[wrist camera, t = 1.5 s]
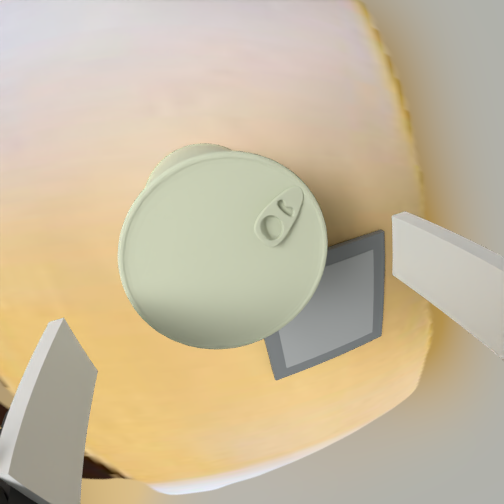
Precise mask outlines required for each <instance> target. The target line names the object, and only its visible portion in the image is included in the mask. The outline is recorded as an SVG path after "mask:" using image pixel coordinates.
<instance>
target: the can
mask: <svg viewBox="0 0 504 504" xmlns="http://www.w3.org/2000/svg"><path fill="white" fill-rule="evenodd" d="M327 249H328V240H327V230H326V224H325V220H324V217H323V214H322V211H321V209H320V206H319V204H318V202H317V201H316V199H315V197H314V195H313V194H312V192H311V191H310V190H309V188H308V187H307V186H306V185H305V184H304V182H303V181H302V180H301V179H300V178H299V177H298V176H296V175H295V174H294V173H293V172H292V171H290V170H289V169H287V168H286V167H284V166H283V165H281V164H279V163H277V162H276V161H273V160H271V159H269V158H266V157H263V156H260V155H257V154H252V153H247V152H241V151H232V150H230V149H228V148H226V147H223V146H219V145H215V144H206V143H205V144H193V145H189V146H185V147H182V148H180V149H178V150H176V151H174V152H172V153H170V154H169V155H168V156H166V157H165V158H164V159H163V160H162V161H161V162H160V163H159V164H158V165H157V166H156V167H155V169H154V170H153V172H152V173H151V175H150V177H149V179H148V181H147V184H146V187H145V188H144V190H143V191H142V192H141V193H140V194H139V196H138V197H137V198H136V200H135V201H134V203H133V205H132V206H131V208H130V210H129V212H128V214H127V216H126V218H125V221H124V224H123V226H122V230H121V234H120V238H119V245H118V268H119V273H120V277H121V281H122V285H123V288H124V290H125V293H126V295H127V297H128V299H129V301H130V302H131V304H132V306H133V307H134V309H135V310H136V311H137V313H138V314H139V315H140V316H141V317H142V319H143V320H144V321H146V322H147V323H148V324H149V325H150V326H151V327H152V328H154V329H155V330H156V331H157V332H159V333H161V334H162V335H164V336H166V337H168V338H170V339H172V340H174V341H176V342H179V343H182V344H185V345H188V346H192V347H197V348H204V349H228V348H236V347H240V346H245V345H248V344H251V343H254V342H257V341H259V340H262V339H264V338H266V337H268V336H270V335H272V334H274V333H275V332H277V331H278V330H280V329H281V328H283V327H284V326H286V325H287V324H288V323H289V322H290V321H292V320H293V319H294V318H295V317H296V316H297V315H298V314H299V313H300V312H301V311H302V310H303V308H304V307H305V306H306V305H307V303H308V302H309V300H310V299H311V297H312V296H313V294H314V292H315V291H316V289H317V287H318V285H319V282H320V280H321V277H322V275H323V271H324V268H325V264H326V258H327Z"/></svg>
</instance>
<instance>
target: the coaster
mask: <svg viewBox="0 0 504 504" xmlns="http://www.w3.org/2000/svg"><path fill="white" fill-rule="evenodd" d="M384 271H385V246H384V231H382V230H378V231H375V232H372V233H369V234H366V235H363V236H360V237H357V238H354V239H351V240H348V241H345V242H342V243H339V244H336V245H333V246H330V247H328V249H327V258H326V264H325V268H324V271H323V275H322V277H321V280H320V282H319V285H318V287H317V289H316V291H315V292H314V294H313V296H312V297H311V299H310V300H309V302H308V303H307V305H306V306H305V307H304V308H303V310H302V311H301V312H300V313H299V314H298V315H297V316H296V317H295V318H294V319H293V320H292V321H290V322H289V323H288V324H287V325H286V326H284V327H283V328H281V329H280V330H278V331H277V332H275V333H274V334H272V335H270V336H268V337H266V338H264V340H265V344H266V348H267V352H268V355H269V359H270V363H271V367H272V370H273V374H274V378H275V380H279V379H281V378H284V377H287V376H290V375H292V374H295V373H298V372H300V371H303V370H305V369H308V368H310V367H313V366H315V365H318V364H320V363H323V362H325V361H328V360H330V359H332V358H335V357H337V356H339V355H342V354H344V353H346V352H348V351H350V350H353V349H355V348H357V347H359V346H361V345H363V344H366V343H368V342H370V341H372V340H374V339H376V338H378V337H380V336H381V334H382V321H383V303H384Z"/></svg>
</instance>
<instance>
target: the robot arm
mask: <svg viewBox="0 0 504 504" xmlns="http://www.w3.org/2000/svg"><path fill="white" fill-rule="evenodd" d="M392 237H393V272H392V275H393V276H395V277H396V278H398V279H399V280H400V281H402V282H403V283H405V284H406V285H407V286H409V287H410V288H411V289H413V290H414V291H416V292H417V293H418V294H420V295H421V296H422V297H424V298H425V299H426V300H428V301H429V302H430V303H432V304H433V305H435V306H436V307H437V308H439V309H440V310H441V311H442V312H444V313H445V314H446V315H448V316H449V317H450V318H451V319H453V320H454V321H455V322H457V323H458V324H459V325H460V326H462V327H463V328H464V329H465V330H467V331H468V332H469V333H471V334H472V335H473V336H474V337H476V338H477V339H478V340H479V341H480V342H482V343H483V344H484V345H485V346H487V347H488V348H489V349H490V350H491V351H493V352H494V353H495V354H496V355H497V356H498V357H500V358H501V359H502V360H503V361H504V257H503V256H501V255H499V254H497V253H495V252H493V251H491V250H489V249H487V248H485V247H483V246H481V245H479V244H477V243H475V242H473V241H471V240H469V239H467V238H465V237H463V236H461V235H459V234H456V233H454V232H452V231H450V230H448V229H445V228H443V227H441V226H439V225H436V224H434V223H432V222H430V221H427V220H425V219H423V218H420V217H418V216H415V215H413V214H411V213H408V212H406V211H405V212H402V213H399V214H395V215H392ZM97 373H98V371H97V369H96V368H95V366H94V365H93V363H92V362H91V360H90V359H89V358H88V356H87V354H86V353H85V351H84V350H83V348H82V347H81V345H80V344H79V342H78V340H77V339H76V337H75V336H74V334H73V332H72V331H71V329H70V327H69V326H68V324H67V322H66V320H65V319H64V318H61V319H58V320H55V321H51V322H49V323H48V325H47V327H46V329H45V331H44V333H43V335H42V337H41V339H40V341H39V343H38V345H37V347H36V349H35V351H34V353H33V355H32V357H31V359H30V361H29V364H28V366H27V368H26V370H25V372H24V375H23V377H22V379H21V382H20V384H19V386H18V389H17V391H16V394H15V396H14V399H13V401H12V404H11V407H10V408H9V410H8V411H7V413H6V414H5V417H4V420H3V423H2V426H1V427H2V429H0V504H80V495H81V481H82V469H83V459H84V450H85V442H86V434H87V427H88V421H89V415H90V409H91V403H92V397H93V392H94V387H95V382H96V377H97Z"/></svg>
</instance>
